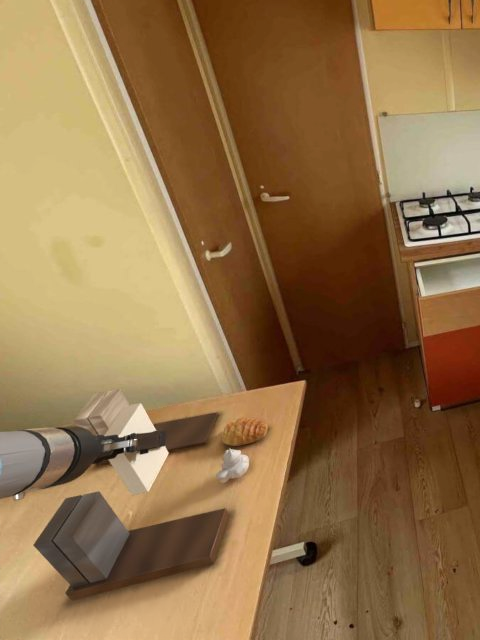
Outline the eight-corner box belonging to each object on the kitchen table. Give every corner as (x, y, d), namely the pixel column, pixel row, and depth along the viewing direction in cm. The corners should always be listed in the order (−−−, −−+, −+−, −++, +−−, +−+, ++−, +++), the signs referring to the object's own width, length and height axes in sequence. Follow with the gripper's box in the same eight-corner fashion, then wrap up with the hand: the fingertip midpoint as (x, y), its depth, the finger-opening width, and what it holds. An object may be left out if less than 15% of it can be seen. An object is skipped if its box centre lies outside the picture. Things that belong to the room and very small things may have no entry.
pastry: (273, 423, 107) (269, 412, 105) (261, 445, 101) (257, 435, 99) (235, 425, 106) (230, 414, 104) (221, 448, 100) (215, 438, 99)
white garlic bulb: (258, 466, 96) (247, 443, 92) (230, 492, 91) (219, 468, 87) (241, 458, 98) (230, 434, 94) (214, 482, 93) (201, 458, 89)
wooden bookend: (96, 466, 96) (67, 423, 90) (119, 433, 104) (93, 391, 98) (205, 444, 101) (184, 402, 95) (218, 414, 109) (200, 374, 103)
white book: (132, 495, 72) (97, 444, 66) (154, 455, 78) (124, 405, 72) (148, 492, 72) (115, 440, 66) (169, 453, 79) (141, 403, 73)
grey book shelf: (71, 601, 73) (24, 551, 66) (102, 545, 81) (63, 495, 74) (214, 564, 78) (184, 514, 71) (230, 515, 86) (204, 465, 79)
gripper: (-37, 505, 52) (101, 472, 74) (111, 475, 56) (200, 453, 78) (-26, 440, 54) (104, 427, 76) (115, 416, 58) (201, 410, 80)
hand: (153, 440), depth 77 cm, fingers closed on white book, 2 cm apart
